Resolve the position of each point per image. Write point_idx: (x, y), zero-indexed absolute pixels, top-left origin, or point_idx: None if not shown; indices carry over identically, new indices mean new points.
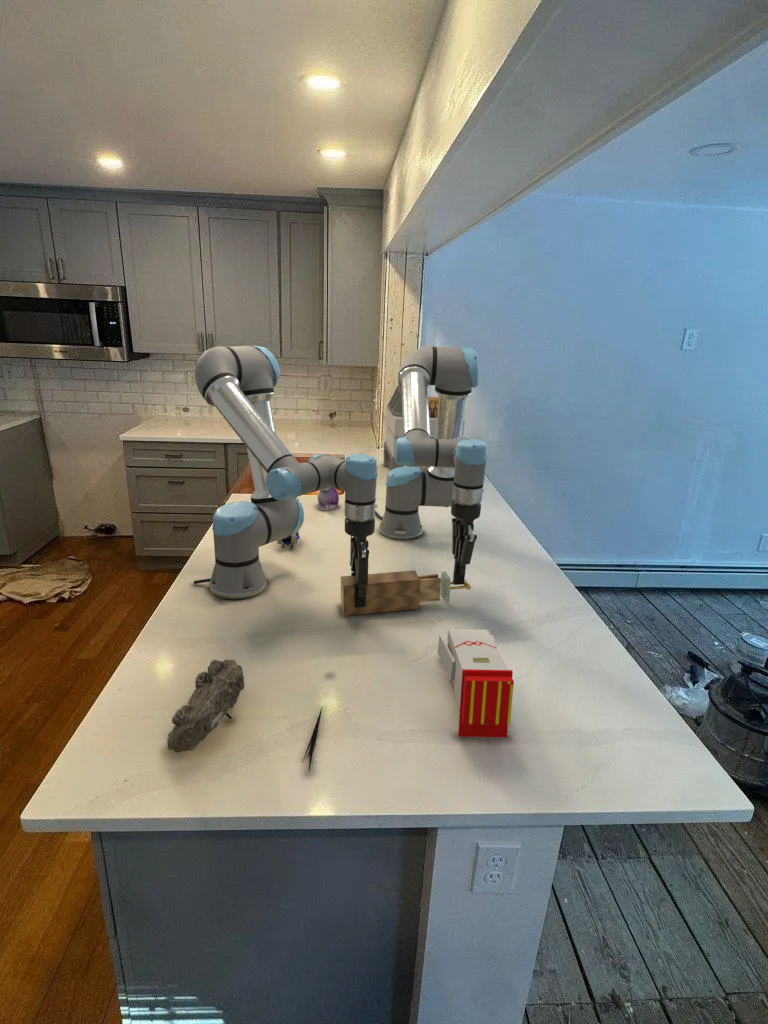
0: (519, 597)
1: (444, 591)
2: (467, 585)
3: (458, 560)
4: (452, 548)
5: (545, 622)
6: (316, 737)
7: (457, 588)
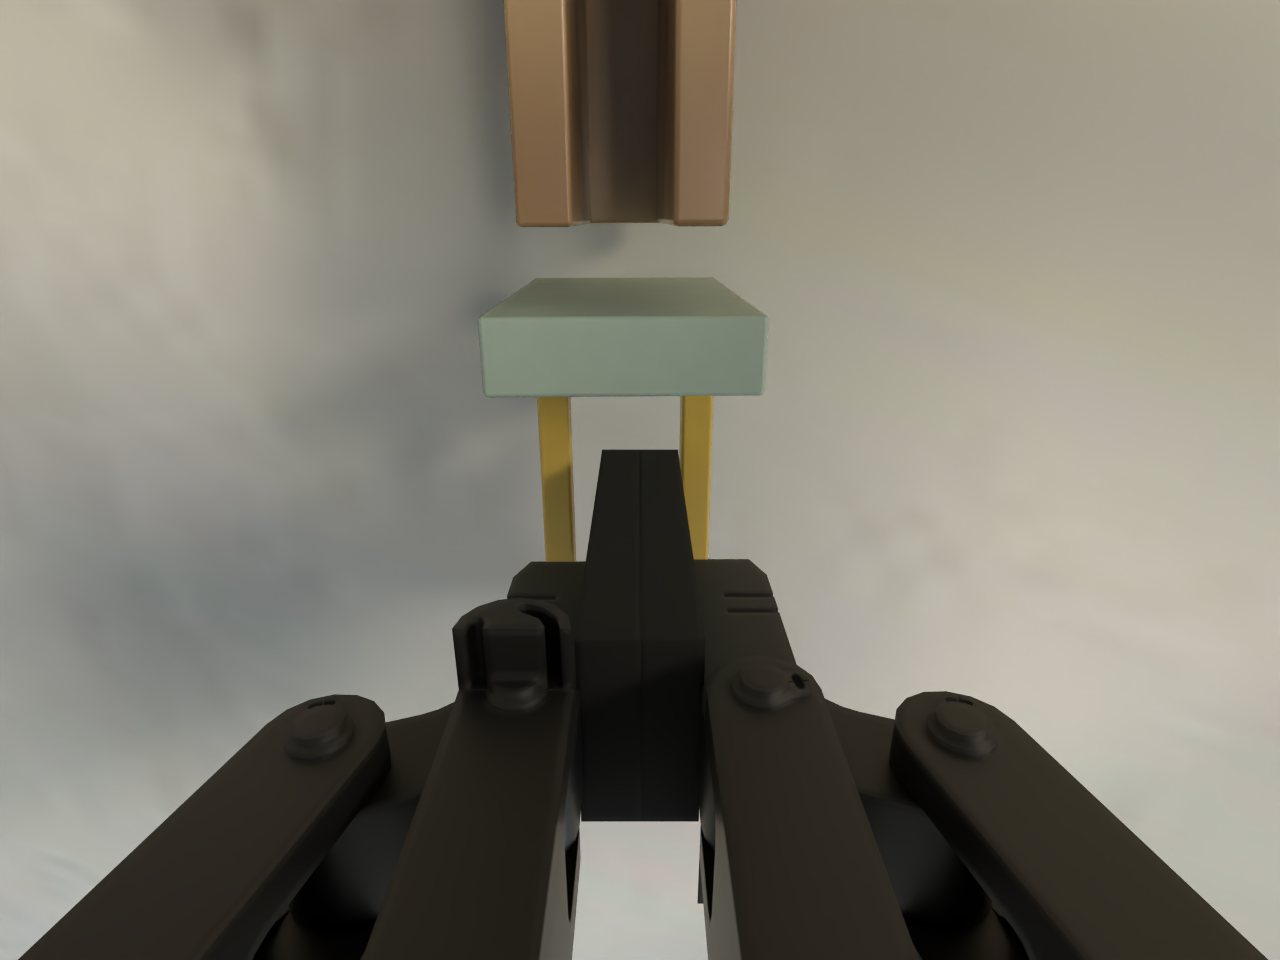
0: (649, 905)
1: (563, 288)
2: None
3: (491, 719)
4: (1074, 802)
5: None
6: None
7: (544, 465)
